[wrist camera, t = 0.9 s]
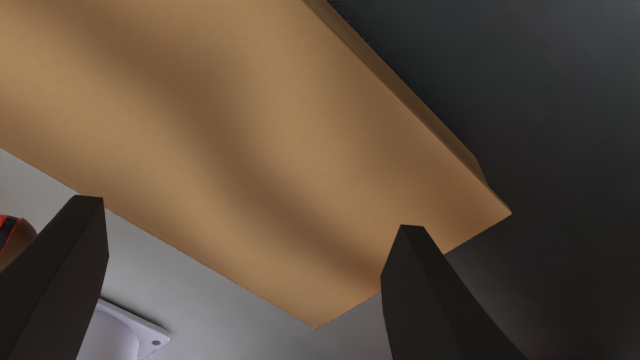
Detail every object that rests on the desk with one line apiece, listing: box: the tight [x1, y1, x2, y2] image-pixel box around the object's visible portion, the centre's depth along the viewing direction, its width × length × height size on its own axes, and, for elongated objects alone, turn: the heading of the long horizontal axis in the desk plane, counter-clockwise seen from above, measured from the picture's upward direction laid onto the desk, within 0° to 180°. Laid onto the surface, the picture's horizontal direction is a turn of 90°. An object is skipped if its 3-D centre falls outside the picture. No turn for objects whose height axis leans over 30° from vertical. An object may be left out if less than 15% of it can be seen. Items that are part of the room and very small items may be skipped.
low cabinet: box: [0, 0, 512, 329], centre depth 19 cm, size 11×23×4 cm, turn 43°
